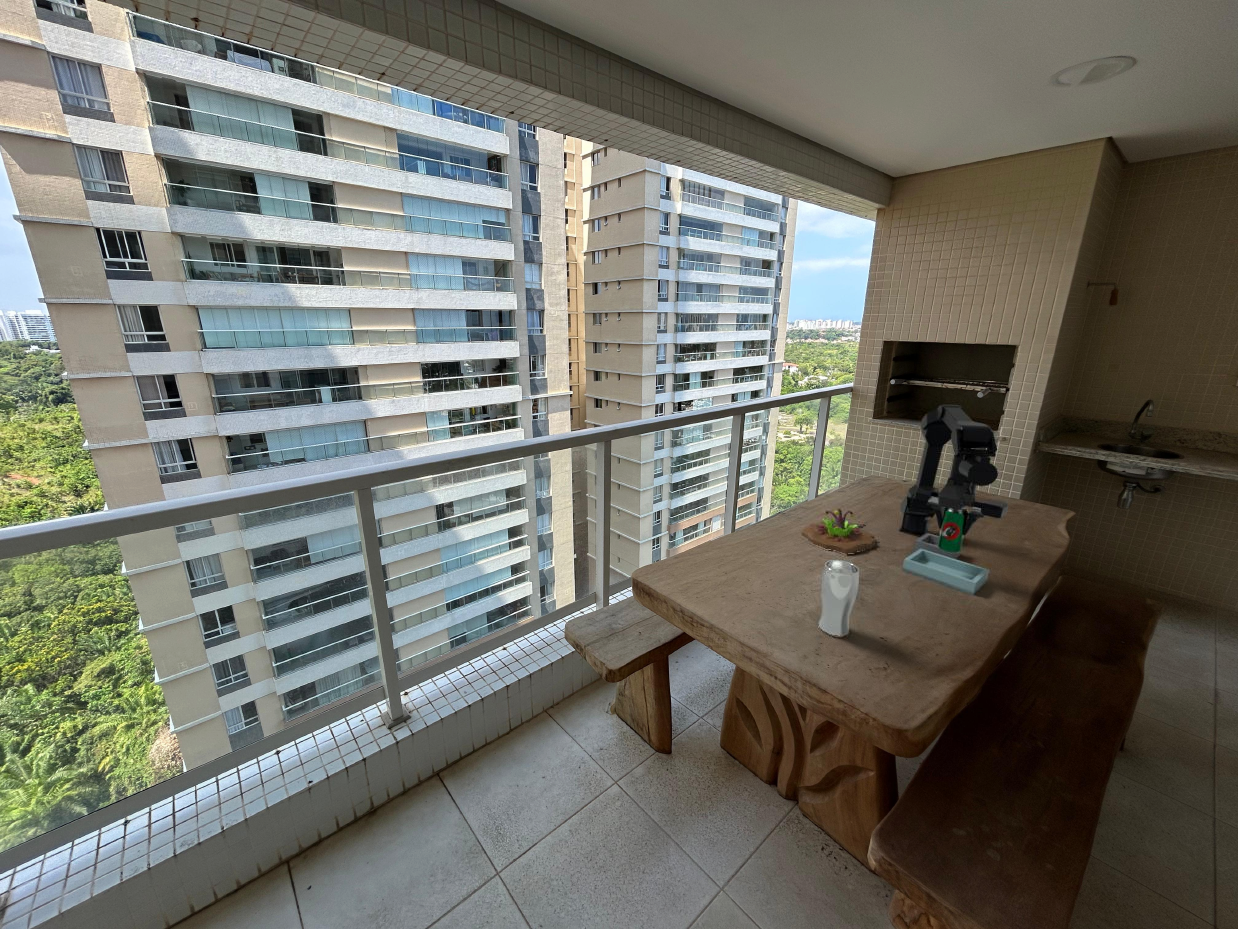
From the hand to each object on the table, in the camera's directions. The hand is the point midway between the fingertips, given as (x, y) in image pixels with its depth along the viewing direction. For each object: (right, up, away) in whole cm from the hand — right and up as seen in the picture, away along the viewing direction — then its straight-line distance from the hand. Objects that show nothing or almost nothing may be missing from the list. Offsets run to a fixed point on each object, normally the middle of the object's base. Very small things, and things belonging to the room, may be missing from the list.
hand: (952, 531), depth 118 cm
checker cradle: (+7, -9, +15) cm, 19 cm away
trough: (0, -12, +3) cm, 13 cm away
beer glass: (-40, -19, -19) cm, 48 cm away
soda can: (0, -5, +1) cm, 5 cm away
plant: (-18, -7, +26) cm, 32 cm away
